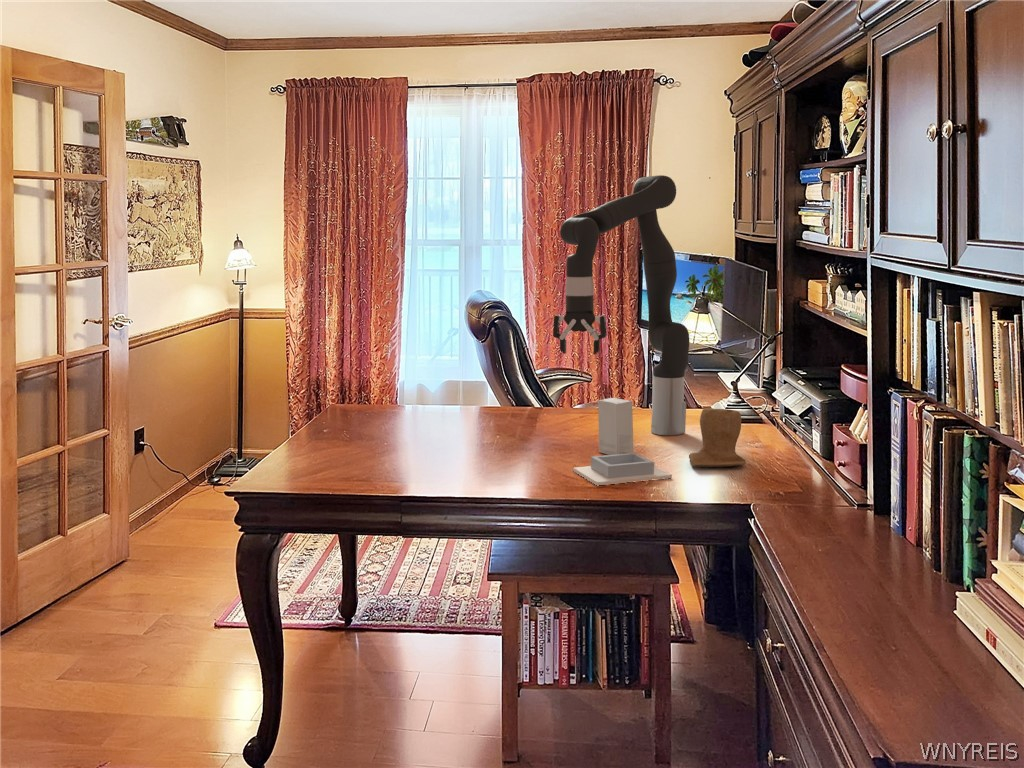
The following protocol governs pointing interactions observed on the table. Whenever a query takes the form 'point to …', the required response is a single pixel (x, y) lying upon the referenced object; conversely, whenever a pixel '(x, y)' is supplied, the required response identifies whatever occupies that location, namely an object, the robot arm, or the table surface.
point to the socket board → (620, 469)
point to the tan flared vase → (718, 439)
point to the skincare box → (615, 426)
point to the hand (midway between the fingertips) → (579, 353)
